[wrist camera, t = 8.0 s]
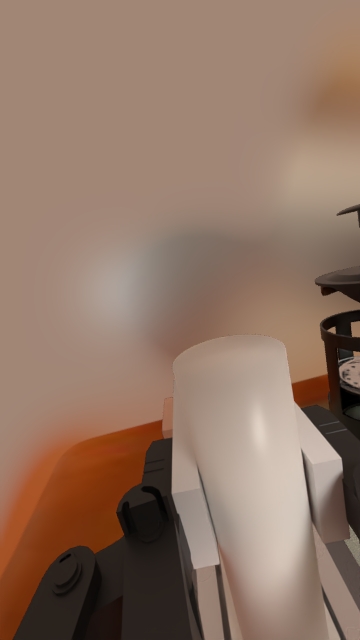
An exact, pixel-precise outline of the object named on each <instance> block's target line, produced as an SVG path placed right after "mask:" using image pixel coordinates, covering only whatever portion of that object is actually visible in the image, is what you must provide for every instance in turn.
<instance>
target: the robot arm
mask: <svg viewBox="0 0 360 640" xmlns="http://www.w3.org/2000/svg"><path fill="white" fill-rule="evenodd" d="M294 406H295V412H296V419H297V426H298V432H299V439H300V446H301V453H302V459H303V466H304V473H305V480H306V486H307V493H308V500H309V506H310V513H311V520H312V523H313V524H314V526H315V528H316V530H317V532H318V534H319V536H320V538H321V540H322V542H323V544H324V543H330V542H335V541H340V540H345V539H350V532H349V525H350V526H351V528H352V529H353V531H354V532H355V534H356V535H357V537H358V538H359V542H360V441H359V440H358V439H357V438H356V437H355V436H354V435H353V434H352V433H351V432H350V431H349V430H347V428H346V427H345V426H344V425H343V424H342V423H341V422H339V420H338V419H337V418H336V417H335V416H334V415H333V414H332V413H331V412H330V411H328V410H326V409H324V408H322V407H320V406H318V405H314V406H310V407H305V408H299V406H298V405H297V404H296V403H295V402H294ZM143 473H144V475H143V478H142V483H141V484H139V485H137V486H135V487H133V488H132V489H130V490H129V491H128V492H127V493H126V494H125V495H124V496H123V498H122V499H121V501H120V502H119V505H118V508H117V512H116V513H117V516H118V519H119V522H120V524H121V527H122V530H123V532H124V536H123V537H122V538H121V539H119V540H118V541H116V542H115V543H114V544H112V545H110V546H108V547H106V548H105V549H103V550H101V551H99V552H97V553H96V554H94V553H93V551H92V550H91V549H90V548H88V547H85V546H77V547H74V548H71V549H69V550H67V551H66V552H64V553H63V554H61V555H60V556H59V557H58V558H57V559H56V560H55V561H54V562H53V563H52V564H51V565H50V567H49V568H48V570H47V571H46V573H45V575H44V576H43V578H42V580H41V582H40V584H39V586H38V588H37V590H36V592H35V594H34V597H33V599H32V601H31V603H30V605H29V607H28V609H27V611H26V613H25V615H24V617H23V619H22V621H21V624H20V626H19V628H18V630H17V632H16V634H15V636H14V638H13V640H205V638H204V632H203V627H202V622H201V616H200V611H199V605H198V600H197V594H196V590H195V586H194V583H193V580H192V568H191V560H192V564H193V567H194V569H197V568H202V567H207V566H212V565H218V564H220V561H219V554H218V548H217V541H216V534H215V530H214V527H213V523H212V519H211V515H210V511H209V507H208V504H207V500H206V496H205V492H204V488H203V484H202V481H201V477H200V473H199V469H198V465H197V461H196V458H195V454H194V450H193V446H192V442H191V438H190V435H189V431H188V427H187V423H186V419H185V415H184V412H183V408H182V404H181V400H180V396H179V392H178V389H177V385H176V381H175V380H174V391H173V437H171V438H166V439H162V440H157V441H153V442H152V444H151V445H150V447H149V449H148V450H147V452H146V458H145V465H144V472H143Z"/></svg>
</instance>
